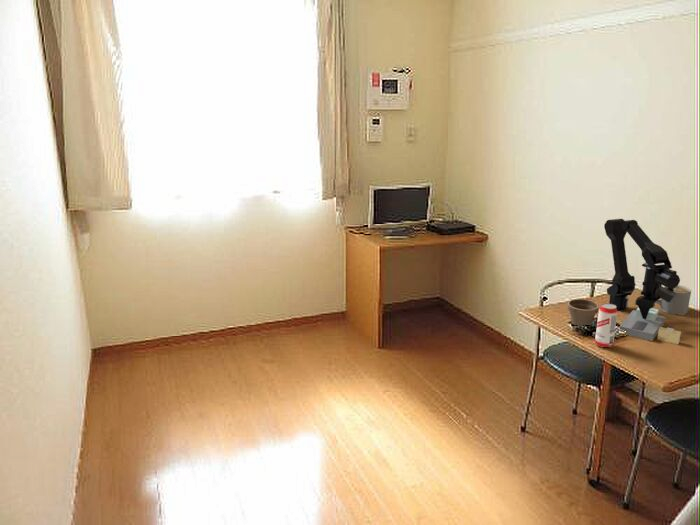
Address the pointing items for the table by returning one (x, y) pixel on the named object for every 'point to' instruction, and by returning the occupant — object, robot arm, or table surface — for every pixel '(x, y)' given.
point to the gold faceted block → (669, 335)
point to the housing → (642, 326)
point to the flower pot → (582, 311)
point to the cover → (651, 315)
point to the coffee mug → (677, 301)
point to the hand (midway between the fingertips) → (646, 315)
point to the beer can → (606, 325)
